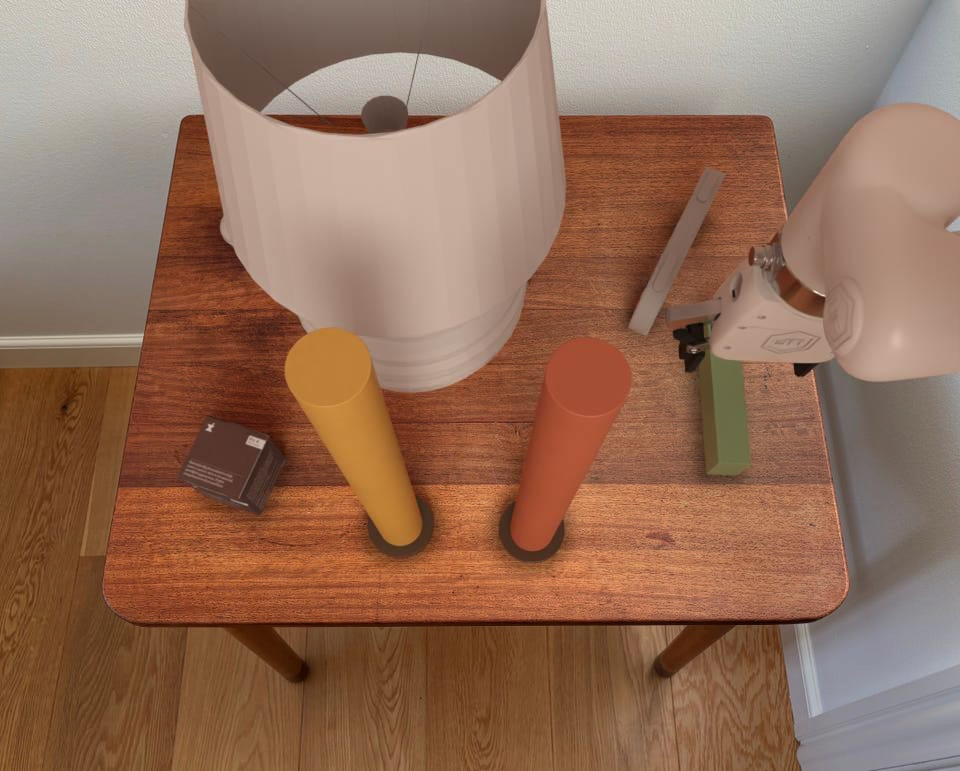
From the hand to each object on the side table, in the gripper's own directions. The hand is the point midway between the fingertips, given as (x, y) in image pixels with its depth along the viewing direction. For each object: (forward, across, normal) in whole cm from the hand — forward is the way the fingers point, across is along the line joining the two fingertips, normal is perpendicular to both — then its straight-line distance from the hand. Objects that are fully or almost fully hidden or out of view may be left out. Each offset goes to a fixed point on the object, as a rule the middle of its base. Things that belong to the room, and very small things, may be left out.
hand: (742, 359), depth 68 cm
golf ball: (+9, -49, +16) cm, 52 cm away
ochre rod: (+8, -30, -14) cm, 34 cm away
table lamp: (+9, -30, +6) cm, 32 cm away
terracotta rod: (+8, -18, -14) cm, 24 cm away
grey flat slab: (+9, -4, +14) cm, 17 cm away
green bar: (+8, 0, 0) cm, 8 cm away
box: (+8, -45, -10) cm, 47 cm away
